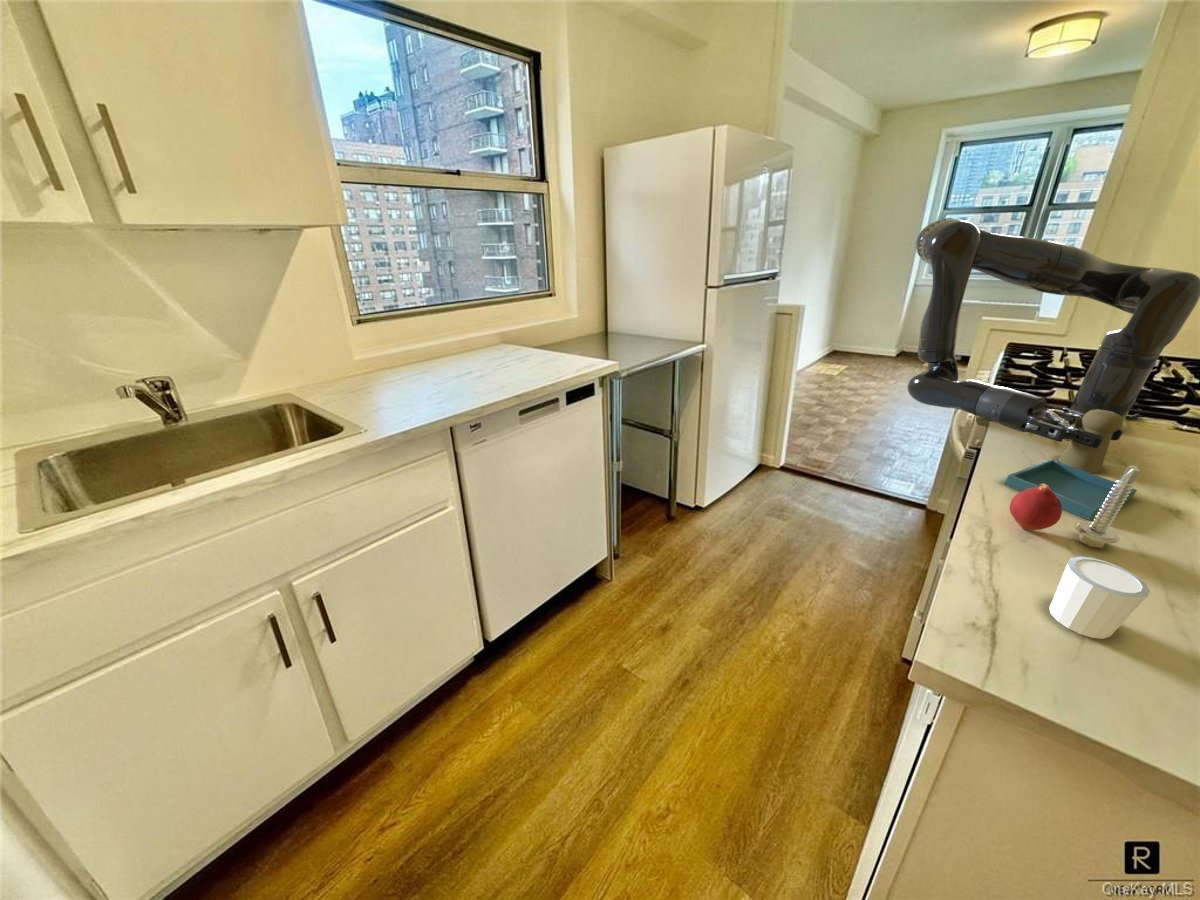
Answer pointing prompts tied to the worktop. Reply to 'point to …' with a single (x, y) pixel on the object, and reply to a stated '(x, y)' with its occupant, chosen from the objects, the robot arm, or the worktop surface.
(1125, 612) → the white faceted cylinder
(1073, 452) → the cork
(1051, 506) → the onion
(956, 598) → the worktop surface
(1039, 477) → the tray
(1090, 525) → the screw
